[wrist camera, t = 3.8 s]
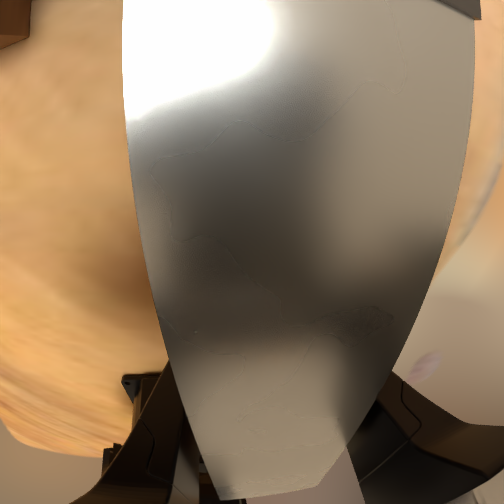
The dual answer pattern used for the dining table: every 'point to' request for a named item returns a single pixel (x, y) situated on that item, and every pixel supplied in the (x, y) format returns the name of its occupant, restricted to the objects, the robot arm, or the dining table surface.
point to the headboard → (14, 21)
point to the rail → (291, 209)
